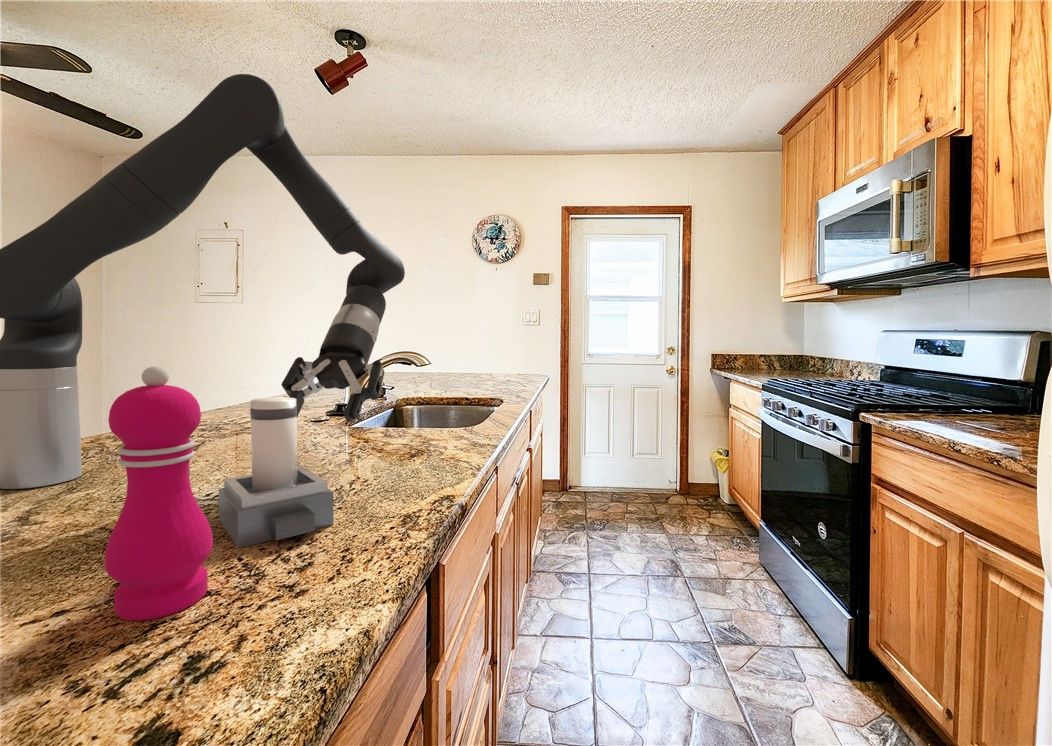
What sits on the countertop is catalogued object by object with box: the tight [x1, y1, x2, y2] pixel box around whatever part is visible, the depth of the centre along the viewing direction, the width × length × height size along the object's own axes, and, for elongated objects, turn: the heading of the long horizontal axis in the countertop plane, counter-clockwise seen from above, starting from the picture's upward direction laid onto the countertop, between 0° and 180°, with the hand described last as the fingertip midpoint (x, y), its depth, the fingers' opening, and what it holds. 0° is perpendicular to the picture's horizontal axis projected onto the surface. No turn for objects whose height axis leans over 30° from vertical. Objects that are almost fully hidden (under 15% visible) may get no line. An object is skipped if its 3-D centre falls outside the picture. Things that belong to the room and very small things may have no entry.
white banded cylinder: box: [249, 396, 298, 493], centre depth 56 cm, size 5×5×11 cm
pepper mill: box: [104, 365, 214, 622], centre depth 39 cm, size 7×7×20 cm
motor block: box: [218, 466, 335, 549], centre depth 56 cm, size 12×10×5 cm
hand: (319, 417), depth 68 cm, fingers open, 8 cm apart
